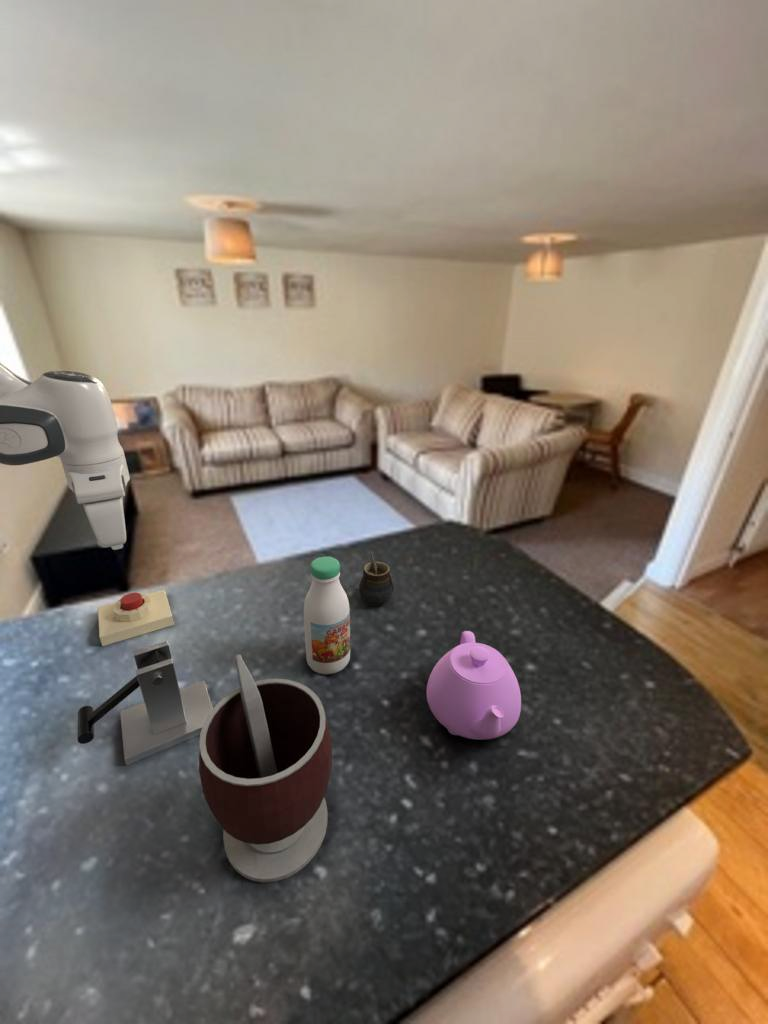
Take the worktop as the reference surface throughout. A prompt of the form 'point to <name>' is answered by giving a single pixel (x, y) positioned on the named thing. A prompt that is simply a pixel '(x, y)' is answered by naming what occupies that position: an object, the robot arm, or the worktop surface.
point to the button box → (134, 618)
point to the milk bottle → (326, 619)
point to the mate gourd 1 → (267, 774)
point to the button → (131, 601)
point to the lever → (109, 703)
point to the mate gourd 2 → (376, 583)
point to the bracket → (162, 708)
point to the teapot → (474, 691)
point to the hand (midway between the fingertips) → (117, 545)
